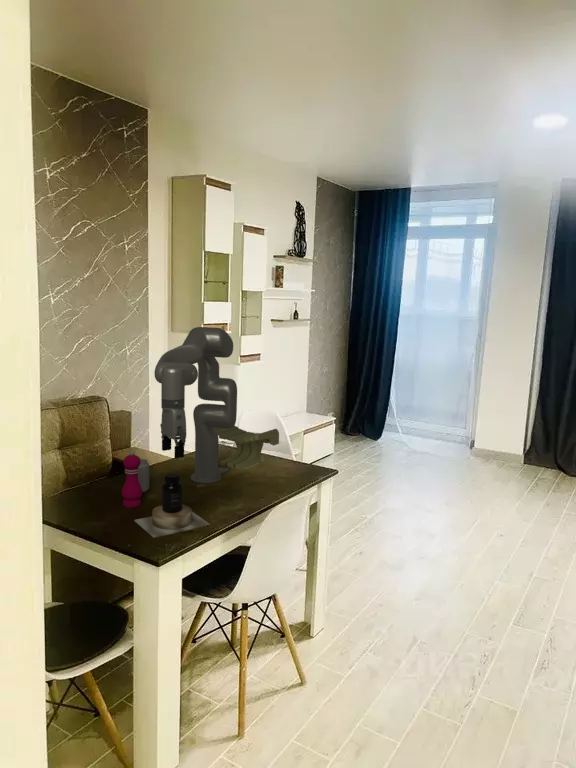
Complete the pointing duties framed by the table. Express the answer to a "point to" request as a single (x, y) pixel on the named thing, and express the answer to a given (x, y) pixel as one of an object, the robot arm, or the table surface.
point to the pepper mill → (132, 481)
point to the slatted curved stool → (246, 445)
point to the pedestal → (170, 522)
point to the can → (144, 475)
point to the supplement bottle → (172, 494)
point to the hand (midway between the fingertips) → (172, 453)
